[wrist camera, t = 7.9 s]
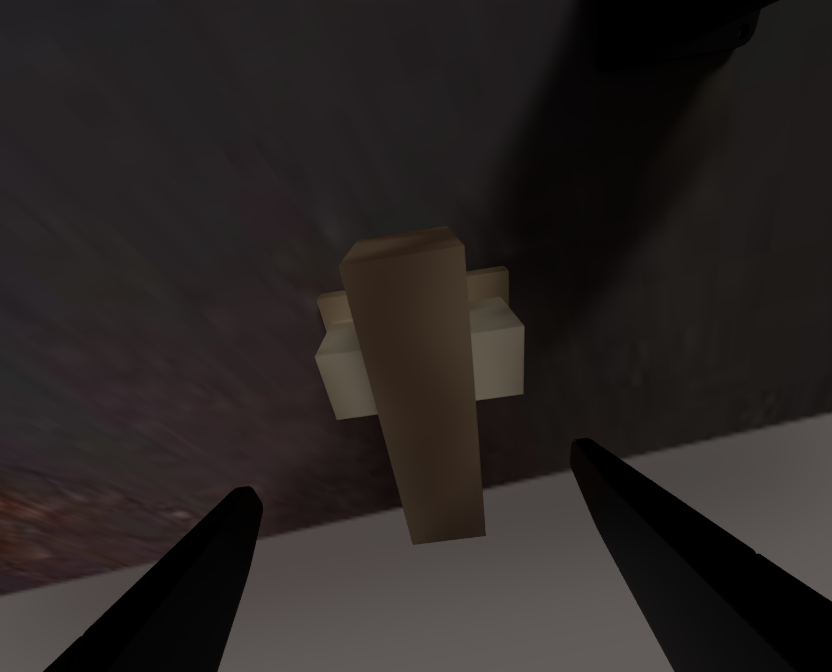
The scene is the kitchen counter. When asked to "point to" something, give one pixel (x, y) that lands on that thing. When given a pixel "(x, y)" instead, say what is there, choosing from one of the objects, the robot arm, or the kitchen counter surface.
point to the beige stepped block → (490, 336)
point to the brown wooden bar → (421, 374)
